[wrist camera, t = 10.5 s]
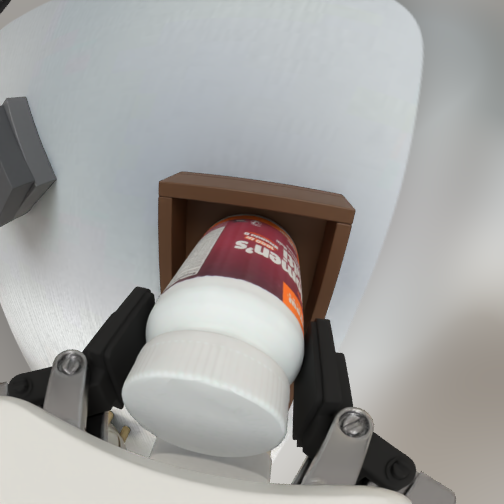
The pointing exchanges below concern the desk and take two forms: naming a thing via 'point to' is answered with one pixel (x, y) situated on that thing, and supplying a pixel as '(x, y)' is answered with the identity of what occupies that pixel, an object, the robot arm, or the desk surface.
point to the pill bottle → (223, 343)
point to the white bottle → (214, 462)
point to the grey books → (20, 161)
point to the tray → (264, 204)
